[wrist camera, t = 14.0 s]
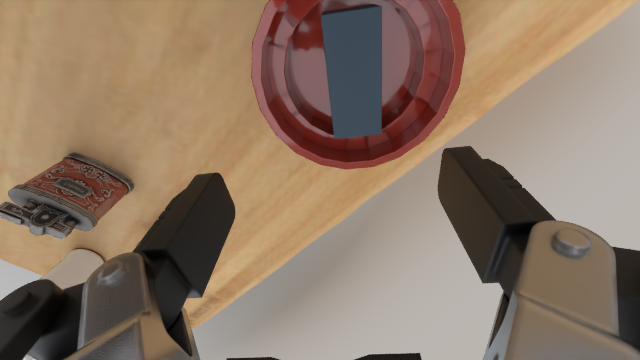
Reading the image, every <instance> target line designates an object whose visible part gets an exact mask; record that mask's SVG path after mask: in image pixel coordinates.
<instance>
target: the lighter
mask: <svg viewBox="0 0 640 360" xmlns="http://www.w3.org/2000/svg"><path fill="white" fill-rule="evenodd" d="M133 188H134V184H133V182H132V181H131V180H130V179H129V178H127V177H126V176H124V175H123V174H121V173H120V172H118V171H116V170H114V169H113V168H111V167H109V166H107V165H105V164H103V163H101V162H98V161H96V160H94V159H91V158H89V157H86V156H83V155H80V154H77V153H70V154H69V155H67V156H65V157H64V158H63V159H62V161H60V162H59V163H57V164H55V165H54V166H52V167H50V168H49V169H47V170H46V171H44V172H42V173H41V174H39V175H37V176H36V177H34V178H32V179H31V180H29V181H27V182H26V183H24V184H23V185H22V184H21V185H17V186H15V187H14V188H12V189H11V190H9V191H8V195H9V197H10V199H11V200H12V201H13V202H14V203H16V204H17V205H15V204H13V203H10V202H4V203H3V204H1V205H0V218H2V219H5V220H8V221H10V222H13V223H15V224H18V225H21V224H22V225H24V226H27V227H30V233H31V234H34V235H39V236H40V235H44V234H48V235H51V236H53V237H56V238H58V239H65V238H66V237H67V236H68V235H69V234H70V233H71V232H72V230H73V229H74V228H75V229H78V230H82V231H90V230H91V229H92V228H93V227H94V226H96V224H97V221H98V220H99V219H100V218H101V217H102V216H103V215H105V214H106V213H107V212H108V211H109V210H110V209H111V208H112V207H113V206H114V205H115V204H116V203H117V202H118V201H119V200H120V199H121V198H122V197H123V196H124V195H127V194H129V193H130V192H131V191H132V190H133ZM18 205H19V206H18ZM20 206H21V207H20Z"/></svg>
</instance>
